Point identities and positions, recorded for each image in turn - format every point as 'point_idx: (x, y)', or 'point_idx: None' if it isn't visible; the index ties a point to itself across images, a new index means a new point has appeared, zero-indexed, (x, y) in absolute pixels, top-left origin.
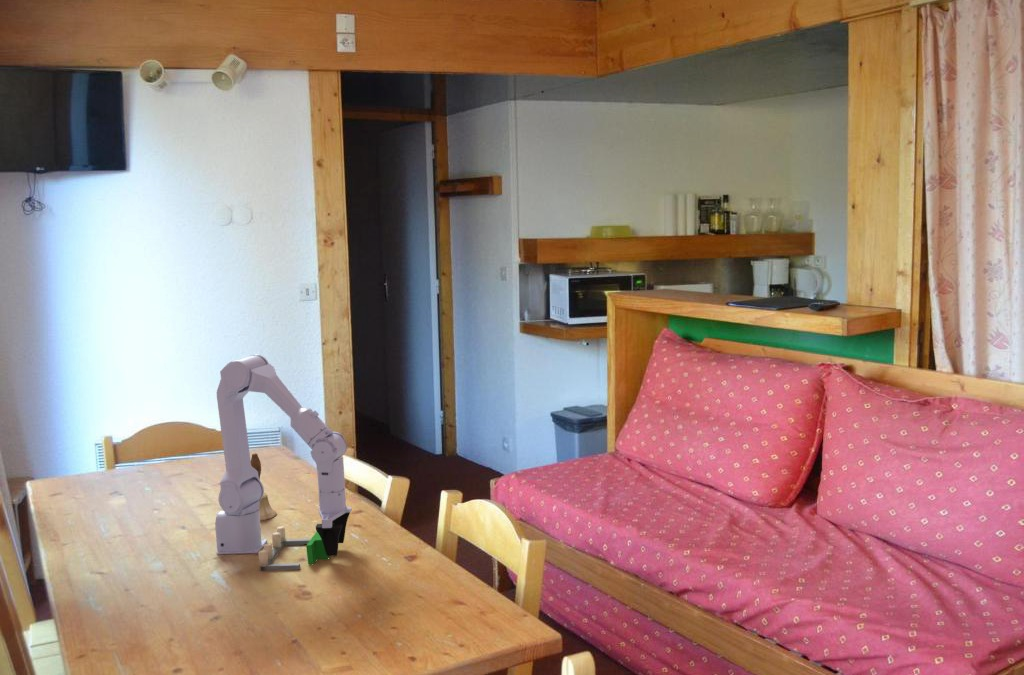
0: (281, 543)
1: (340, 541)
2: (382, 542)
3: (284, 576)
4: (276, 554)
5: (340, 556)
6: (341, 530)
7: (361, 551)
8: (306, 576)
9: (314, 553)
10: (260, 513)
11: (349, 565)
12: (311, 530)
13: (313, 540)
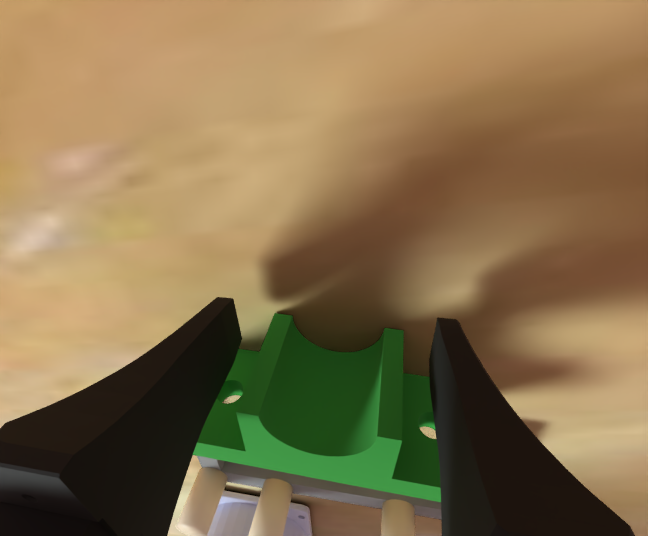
0: (244, 476)
1: (232, 317)
2: (72, 20)
3: (583, 462)
4: None
5: (361, 279)
6: (191, 364)
7: (277, 165)
8: (636, 403)
9: (421, 415)
10: None
11: (550, 214)
12: (59, 392)
13: (391, 482)
